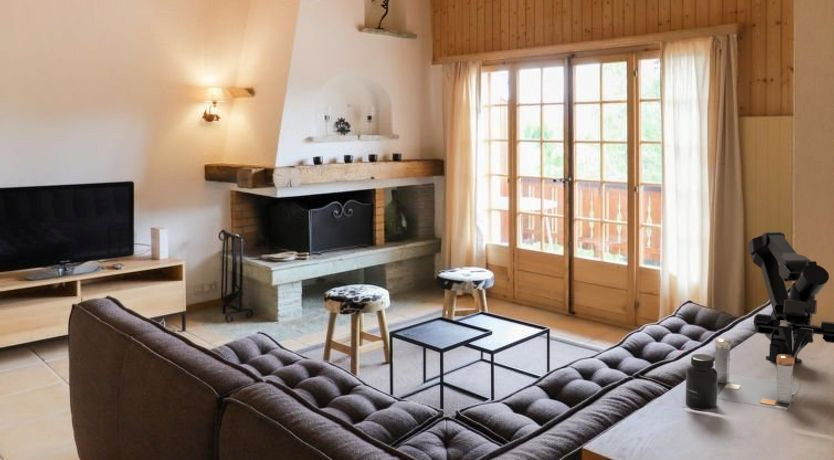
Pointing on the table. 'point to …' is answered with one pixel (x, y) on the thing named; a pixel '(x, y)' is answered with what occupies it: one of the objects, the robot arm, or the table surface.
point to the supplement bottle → (701, 383)
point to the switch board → (753, 391)
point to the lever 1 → (722, 359)
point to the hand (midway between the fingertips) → (791, 358)
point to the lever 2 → (784, 378)
